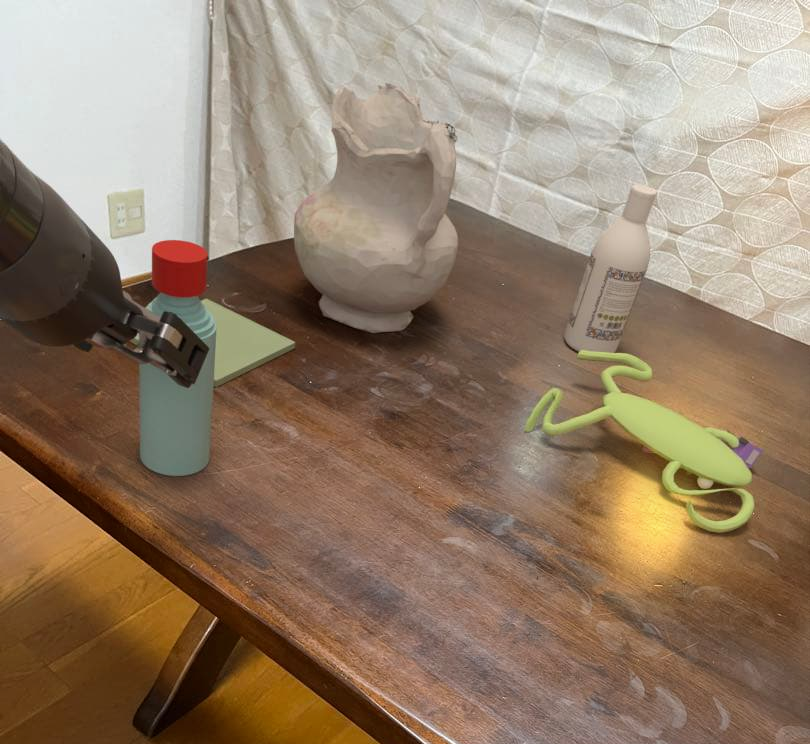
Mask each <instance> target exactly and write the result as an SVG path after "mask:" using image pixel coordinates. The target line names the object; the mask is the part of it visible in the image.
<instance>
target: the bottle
mask: <svg viewBox="0 0 810 744" xmlns="http://www.w3.org/2000/svg"><path fill="white" fill-rule="evenodd" d="M201 301H202V300H201V299H200V298H199V296H194V297H174V296H169V295H166V294H163V293H161V292H159V293H158V294H157V296H156V297H154V298H153V299H152V301H151V302H149V303H148V304H147V306H144V308H146V309H148V310H149V311H151V312H153V313H154V314H156V315H158V316H159V317H161V316H162V314H163V312H164V311H166V312H172V313H174V314H176V315H177V316H178V317H179V318H180V319H181V320H182V321H183V322H184V323H185V324H186V325H187V326H188V327H189V328H190V329H191V330H192V331H193V332H194V333H195V334H196V335H197V336H198V337H199V338H200V339H201V340H202V341H203V342H204V343H205V344H206V345H207V346H208V347H209V348H210V349H209V351H208V354H207V356H206V358H205V361H204V363H203V365H202V368H201V370H200V373H199V375H198V377H197V380H196V382H195V385H194V384H191V386H190V387H189V388H186V387H183V386H180V385H178V384H177V383H176V382H175V381H174V380H173V379H172V378H170V377H169V376H168V375H167V374H166V373H164V371H163V370H161V369H159V368H157V367H155V366H153V365H152V364H150V363H148V364H138V393H139V395H138V398H139V399H138V400H139V403H138V405H139V459H140V461H141V463H142V464H143V465H144V466H145V467H146V468H148V469H149V470H150V471H153V472H155V473H157V474H160V475H164V476H170V477H185V476H190V475H194V474H196V473H198V472H201V471H202V470H204V469H205V468H206V467H207V466H208V465H209V462H210V459H211V458H210V457H211V456H210V455H211V441H212V440H211V436H212V420H213V418H212V417H213V401H214V386H213V385H214V367H215V348H216V330H217V325H216V322H215V321H214V317H213V315H212V314H211V313H210V312H209V310H208V309H207V308H206V307H205V306H204V304H203V303H202V302H201ZM140 337H141V334H139V339H140ZM155 355H156V356H158V357H159V358H161V357H160V356H159V355H157V354H155ZM161 359H162V358H161Z"/></svg>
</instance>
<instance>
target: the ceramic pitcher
mask: <svg viewBox="0 0 810 744" xmlns="http://www.w3.org/2000/svg"><path fill="white" fill-rule="evenodd" d="M384 84H385V86H382V85H377V87H378V90H377V91H375V92H373V93H372V94H370V95H369V96H368V97H366V98H365V99H362V98H359V97H358V95H356V93H355V92H354V90H352V89H350V88H347V87H345V86H344V85H340V86H339V88H338V90H337V91H336V93H335V95H334V97H333V101H332V104H331V109H330V111H331V133H332V135H333V136H334V142H335V149H336V158H337V159H336V166H335V172H334V174H333V177H332V179H331V180H330V181H329V182H328V183H326V184H325V185H323V186H321V187H319V188H317V189H315V190H314V191H312V192H310V193H309V194H307V196H306V197H305V198H304V199H303V200H302V201H301V202H300V203H299V205H298V207H297V209H296V212H295V213H294V219H293V221H294V222H293V243H294V251H295V255H296V258H297V260H298V261H297V262H298V264H299V267H300V268H301V271H302V273H303V275H304V276H305V278H306V279H307V280H308V281H309V282H310V284H311V285H312V286H313V287H314V289H315V290H316V291H318V292H319V293H320V294H321V295H322V296H321V298H320V299H319V301H318V302H317V303H318V306H319V309H320V311H321V313H322V316H323V317H325V318H328V319H331V320H334V321H337V322H338V323H341V324H343V325H346V326H348V327H350V328H351V327H352V328H354V329H358V330H360V331H364V332H368V333H371V334H376V333H377V334H378V333H388V332H401V331H404V330H405V329H406V328H407V327H408V326H409V325H410V324H411V322H412V321H413V319H414V315H413V313H412V312H411V311H414V310H416V309H417V308H419V307H420V306H423V305H425V304H426V303H428V302H429V301H430V300H432V299H433V298H434V297H435V296H436V295H437V294H438V292H440V291H441V290H442V288H444V286H445V284H446V283H447V281H448V279H449V277H450V275H451V272H452V270H453V268H454V266H455V262H456V259H457V252H458V247H459V238H458V237H459V236H458V233H457V230H456V227H455V226H454V224H453V222H452V221H451V219H450V218H449V216H448V215H447V214H446V210H447V209H448V208H447V207H448V205H449V202H450V198H451V194H452V191H453V187H454V182H455V179H456V172H457V171H456V170H457V153H456V143H457V142H458V141H459V139H458V136H457V135H456V127H455V126H453V125H452V124H450V123H448V122H445V123H444V122H439V120H434V121H432V120H425V118H424V116H423V113H422V110H421V105H420V100H421V98H419V97H417V98H414V96H412V95H411V93H408V92H407V91H405V90H404V89H403V87H402V86H397V85H394V84H391V83H386V82H385V83H384Z"/></svg>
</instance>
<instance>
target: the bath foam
mask: <svg viewBox="0 0 810 744" xmlns="http://www.w3.org/2000/svg"><path fill="white" fill-rule="evenodd" d="M656 197H657V191H656V189H654V188H652V187H650V186H647V185H643V184H633V185H632V186H631V188H630V190H629V193H628V197H627V199H626V203H625V205H624V208H623V211H622V214H621V216H620V217H618V219H617V220H615V221H614V222H612V224H610V226H608V227H607V228H606V229H605V230H604V231H603V232H602V233H601V235H600V236H599V237H598V239H597V240H596V241H595V243H594V245H593V248H592V250H591V252H590V256H589V259H588V261H587V265H586V267H585V271H584V274H583V277H582V279H581V281H580V282H581V283H580V286H579V289H578V292H577V294H576V297H575V301H574V304H573V307H572V309H571V312H570V315H569V319H568V322H567V326H566V328H565V332H564V337H563V338H564V341H565V343H566V344H567V345H568V346H569V347H570V348H571V349H573V350H574V351H576V352H577V353H579V351H580V350H586V351H595V352H609V353H616V351H617V350H618V346H619V344H620V342H621V339H622V336H623V333H624V332H625V330H626V326H627V324H628V320H629V317H630V315H631V312H632V310H633V307H634V305H635V302H636V300H637V297H638V294H639V291H640V289H641V287H642V284H643V282H644V279H645V276H646V273H647V271H648V266H649V263H650V258H651V242H650V237H649V232H648V228H647V224H646V223H647V220H648V218H649V215H650V213H651V210H652V207H653V205H654V202H655V199H656Z"/></svg>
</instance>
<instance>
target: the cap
mask: <svg viewBox="0 0 810 744" xmlns="http://www.w3.org/2000/svg"><path fill="white" fill-rule="evenodd" d="M207 271H208V251H207V250H206V249H205V248H204V247H202V246H201V245H200V244H196V243H195V242H192V241H191V242H190V241H186V240H181V239H166V240H165V239H164V240H159V241H158V242H156V243H154V244H152V246H151V285H152V287H153V289H154V290H156V291H157V292H159V293H163V294H166V295H169V296H174V297H194V296H197V297H199V296H200V295H202V294H204V293H205V291H206V290H207V274H208V272H207Z"/></svg>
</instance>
